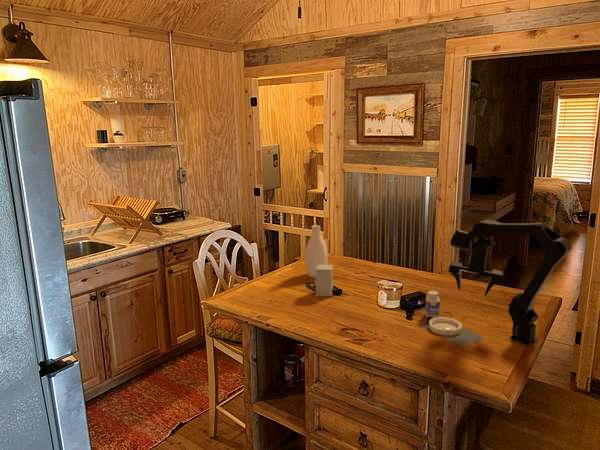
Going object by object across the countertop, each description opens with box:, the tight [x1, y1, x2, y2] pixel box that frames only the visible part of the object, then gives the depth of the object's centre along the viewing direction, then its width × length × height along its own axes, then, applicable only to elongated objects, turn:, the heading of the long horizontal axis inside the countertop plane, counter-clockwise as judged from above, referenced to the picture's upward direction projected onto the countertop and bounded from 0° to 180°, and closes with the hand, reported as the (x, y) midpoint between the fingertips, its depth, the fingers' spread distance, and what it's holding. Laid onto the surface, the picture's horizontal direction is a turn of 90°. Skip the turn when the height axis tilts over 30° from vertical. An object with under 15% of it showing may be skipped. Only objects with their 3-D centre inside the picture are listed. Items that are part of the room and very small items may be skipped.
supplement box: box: [315, 264, 334, 297], centre depth 209 cm, size 7×7×13 cm
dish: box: [428, 316, 463, 335], centre depth 172 cm, size 12×12×2 cm
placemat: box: [419, 322, 486, 347], centre depth 170 cm, size 20×12×1 cm, turn 31°
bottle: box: [304, 224, 328, 279], centre depth 233 cm, size 11×11×25 cm
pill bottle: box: [424, 290, 441, 319], centre depth 183 cm, size 5×5×10 cm
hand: (472, 292), depth 174 cm, fingers open, 9 cm apart
